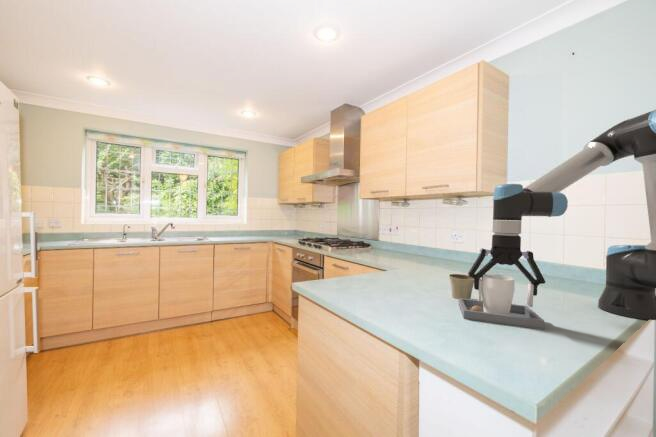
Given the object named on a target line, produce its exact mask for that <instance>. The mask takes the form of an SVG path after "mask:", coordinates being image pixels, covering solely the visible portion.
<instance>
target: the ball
mask: <svg viewBox="0 0 656 437" xmlns="http://www.w3.org/2000/svg"><path fill="white" fill-rule="evenodd" d="M471 311H479V312H484V311H483V309H482V308H481V307H480V306H477V305H475V306H473V307H472V308H471Z"/></svg>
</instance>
